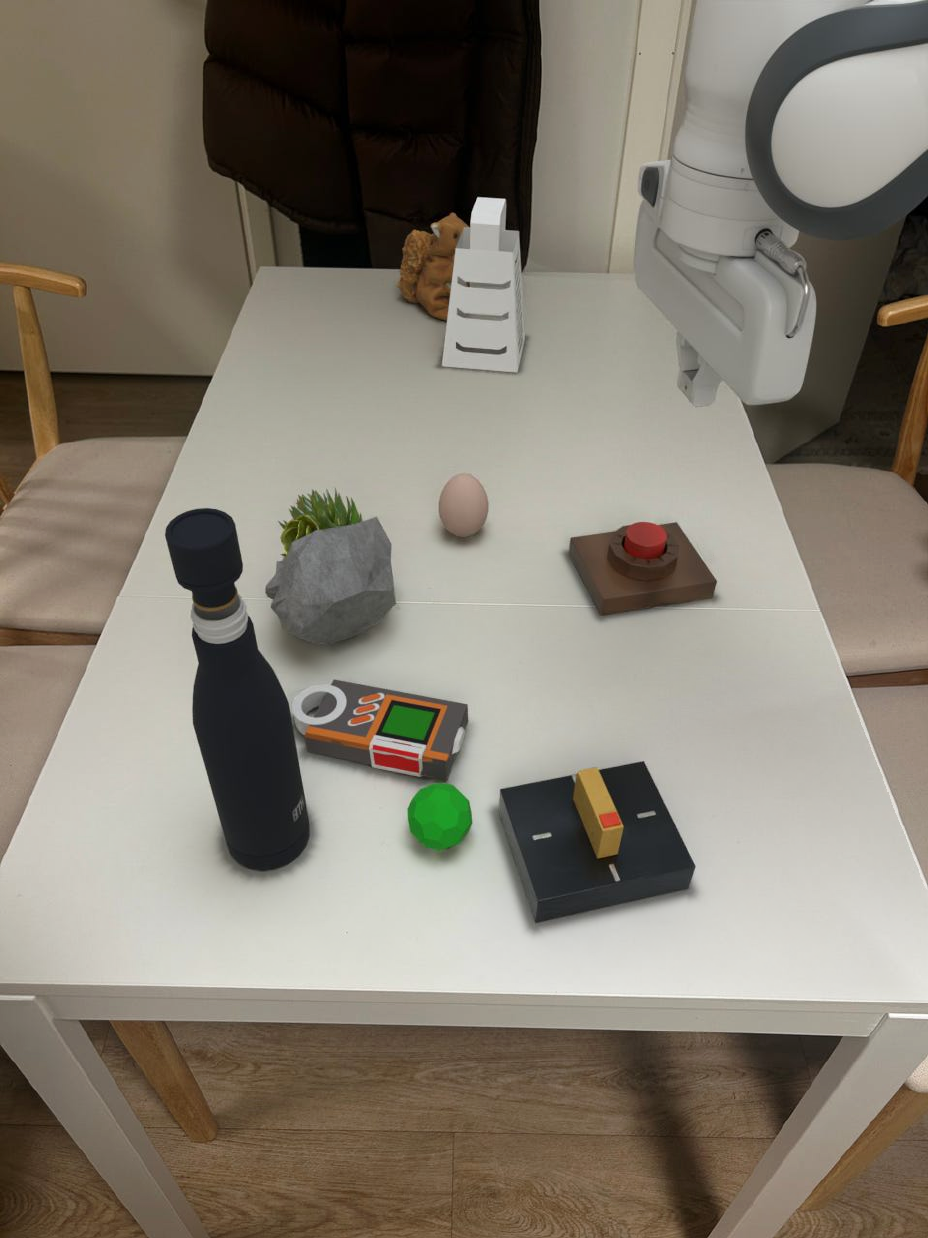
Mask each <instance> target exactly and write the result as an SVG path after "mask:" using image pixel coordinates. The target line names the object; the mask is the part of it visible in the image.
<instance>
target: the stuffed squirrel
mask: <svg viewBox="0 0 928 1238" xmlns="http://www.w3.org/2000/svg"><path fill="white" fill-rule="evenodd" d="M464 227H468V228H470V226H469V225H468V224H467V223H466V222H464V221H463V219H461V218H459V217H458V216H457V214H456V213H455V212H451V213H449V215H447V216H444V217H443V218H442V219H440V220H438V221H437V222H433V223H431V224H430V228H431V230H432V232H433V233H432V234H431V233H429V232H426V231H424V230H421V231H420V230H417V229H413V230H412V231H411V232H410V233H408V235H407V236H406V238H405V240H404V246H403V247H402V249H401V250H402V255H403V257H402V260H401V264H400V270H399V269H398V271H399V272H398V273H399V275H400V277H399V280H398V283H397V284H396V287H397V288H399V290H400V292H401V294H402V296H403V298H404V299H405V300H407V302H409V303H412V304H420V305H421V306H422V308H424V309H425V311H426V312H427V313H428V314H429V315H430V316H432V317H433V318H435V319H438V320H441V321H445V322H447V318H448V309H449V301H450V292H451V284H452V276H453V267H454V259H455V250H456V246H457V244H458V241H459V239H460V236H461V234H462V231H463V229H464ZM466 287H471V283H470V282H467V285H466Z"/></svg>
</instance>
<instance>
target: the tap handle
mask: <svg viewBox="0 0 928 1238" xmlns="http://www.w3.org/2000/svg"><path fill="white" fill-rule="evenodd" d="M599 770H600V769H599V768H598V766H595V767H589V768H584V769H577V770H576V774H577V775H576V782H575V789H574V795H573V800H574V803H575V805H576V808H577V810H578V813H579V815H580V817H581V820H582V822H583V825H584V827H585V830H586V832H587V835H588V837H589V840H590V842H591V844H592V847H593V849H594V852H595V854H596V857H597V859H598V858H603V857H607V856H612V855H617V854H618V850H619V846H620V841H621V837H622V832H623V828H624V826H623V824H622V822H621V819H620V817H619V815H618V813H617V810H616V808H615V806H614V804H613V801H612V799H611V797H610V795H609V792H608V790H607V788H606V786H605V783H604V781H603V779H602V777H601V774H600V772H599Z"/></svg>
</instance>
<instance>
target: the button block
mask: <svg viewBox="0 0 928 1238" xmlns="http://www.w3.org/2000/svg"><path fill="white" fill-rule="evenodd" d="M630 525H631V524H629V525H628V524H626V525H622V526H621V527H619V528H618V529H616V530H612V531H607V532H606V531H605V532H600V533H593V534H585V535H578V536H572V537H570V539H569V546H568V547H569V548H568V555H569V557H570V559H571V561H572V563H573V565H574V567H575V568H576V570H577V573H578V574H579V576H580V578H581V580H582V582H583V584H584V586H585V588H586V590H587V591H588V594H589V595H590V597H591V599H592V601H593V603H594V605H595V607H596V609H597V611H598V612H599V614H600V616H605V615H606V616H607V615H613V614H619V613H624V612H631V611H636V610H642V609H643V610H644V609H651V608H656V607H662V606H667V605H673V604H674V605H675V604H679V603H686V602H692V601H698V600H705V599H711V598H714V595H715V590H716V588H717V584H718V580H717V578H716V577H715V576H714V574H713V573H712V571H711V570H710V568H709V567H708V566H707V564H706V563H705V561H704V560H703V558H702V557H701V555H700V553H699V552H698V551H697V549H696V548H695V546H694V545H693V544H692V542H691V541H690V539H689V537H688V536H687V535H686V533H685V532H684V530H683V529H682V528H681V526H680V524H679V523H678V522H677V521H675V522H667V523H662V524H661V523H660V524H658V525H659V526H660V527H662V528H663V529H664V530H665V532H666V534H667V539H666V543H665V548H664V552H663V554H662V555H661V556H660V557H658V558H655V559H642V558H637V557H634V556H632V555H630V554H629V553H628V552H627V551H626V550H625V547H624V543H625V536H626V531H627V528H628V527H629V526H630Z"/></svg>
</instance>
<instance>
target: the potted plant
mask: <svg viewBox="0 0 928 1238" xmlns="http://www.w3.org/2000/svg"><path fill="white" fill-rule="evenodd" d="M325 490H326V494H325V492H323V493H322V494H323V497H322V495H321V494H320V493H319V492H318V491H317V490H316V489H313V488H311V494H309V493H306V494H307V496H308V497H309V498H308V497H306V495H304V494H303V493H301V495H299V494H297V497H298V498H296V502H295V504H296V506H295V505H293V506H292V505H290V508H288V511H289V513H290V516H291V517H292V518H291V520H289V521H286V520H285V519H283V522H281V521H279V520H277V522H278V524H279V525H280V526H281V528H282V529H283V530H282V532H281V535H280V537H279V538H280V542H281V544H282V545H283V549H284V553H280V556H282V557H283V558H282V560H279V561H276V566H275V567H276V569H275V575H274V576H273V577H272V578H271V579H270V580H269V581H268V582H267V584H265V590H264V593H265V595H266V596H267V598H269V599H271V600H272V601H271V604H270V609H271V610H272V611H273V612H274V613H275V615H276V616H277V618H278V620H279V622H280V624H281V627H282V629H283V630H284V631H285V632H286V633H287V634H288V635H290V636H293V637H296V638H298V639H301V640H302V641H303V640H304V641H307V642H308V643H311V644H319V645H326V646H327V645H328V646H329V645H332V644H335V643H338V642H342V641H345V640H347V639H350V638H354V637H356V636H358V635H360V634H361V633H364V632H365V631H367V630H369V629H371V628H373V627H374V626H376V625H377V624H378V623H379V622H380V621H381V620H382V619H383V618H385V616H386V615H387V614H388V612H389V611H391V609H392V608H393V607H394V606H396V604H397V600H396V591H395V584H394V575H393V568H392V567H393V566H392V542H391V540H390V538H389V536H388V535H387V532H386V531H385V528H384V527H383V526H382V523H381V522H380V520H379V518H378V516H374V517H372V518H368V519H365V520H363V516H362V513H361V512H359V511H358V509H357V506H356V502H355V501H354V499H353V498H352V497H350V499H349V497H348V496H347V495H346V496H345V497H346V505H347V507H346V506H345V504H344V501H343V498H342V497H341V494H340V493H338V491H337V488H336V487H334V491H335V492H334V500H333V498H332V496H331V493H330V492H329V490H328V488H326V489H325Z"/></svg>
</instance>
